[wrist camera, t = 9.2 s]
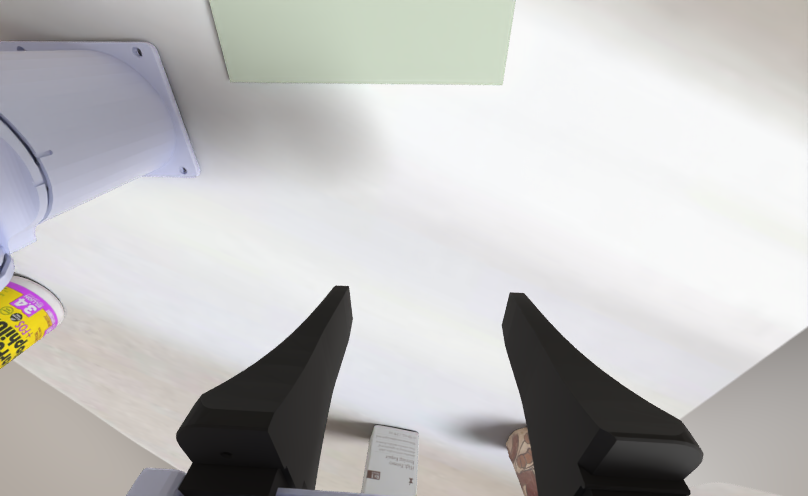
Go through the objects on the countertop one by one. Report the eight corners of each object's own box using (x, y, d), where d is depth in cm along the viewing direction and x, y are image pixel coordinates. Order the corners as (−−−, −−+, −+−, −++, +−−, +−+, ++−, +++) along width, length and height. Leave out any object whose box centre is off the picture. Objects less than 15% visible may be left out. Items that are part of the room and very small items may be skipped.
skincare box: (419, 431, 40) (418, 562, 30) (412, 447, 43) (408, 574, 32) (372, 423, 40) (354, 553, 30) (367, 440, 42) (348, 566, 32)
